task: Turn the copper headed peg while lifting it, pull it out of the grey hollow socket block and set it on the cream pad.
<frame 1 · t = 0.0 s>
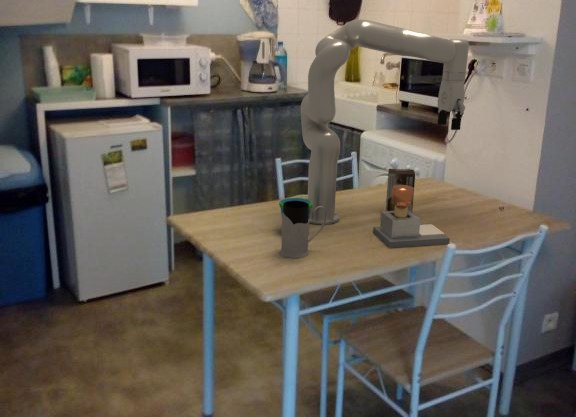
hand: (448, 127, 216), 31 cm above the table, fingers open, 9 cm apart
cream pad: (426, 231, 199), resting on charcoal board
snack cup: (294, 232, 201), on the table
grey hollow socket block: (399, 224, 196), on the charcoal board, point 5 cm above the table
coffee box: (398, 215, 221), on the table
charcoal board: (410, 238, 199), on the table
glass holder: (302, 252, 185), on the table
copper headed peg: (401, 210, 195), in the grey hollow socket block, point 10 cm above the table, touching charcoal board
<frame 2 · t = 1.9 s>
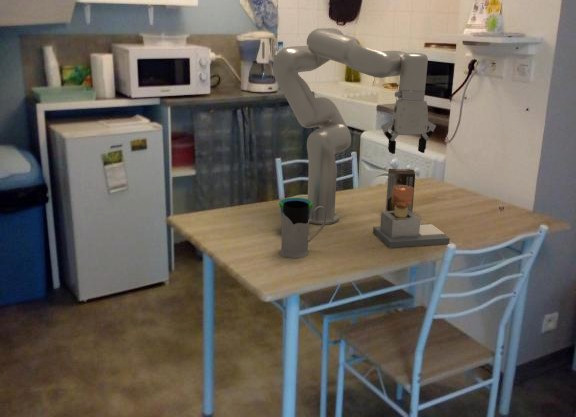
hand: (406, 152, 189), 28 cm above the table, fingers open, 9 cm apart
nothing on the table moved.
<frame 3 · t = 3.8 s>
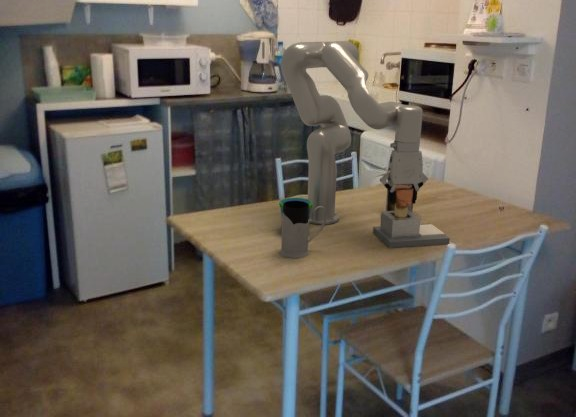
hand: (401, 202, 194), 12 cm above the table, fingers closed on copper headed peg, 6 cm apart
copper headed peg: (401, 210, 195), in the grey hollow socket block, point 10 cm above the table, touching charcoal board, gripper
everything else where it was.
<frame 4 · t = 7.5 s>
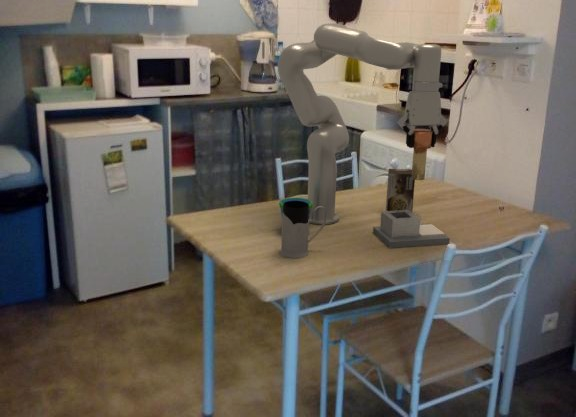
hand: (420, 146, 189), 30 cm above the table, fingers closed on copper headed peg, 6 cm apart
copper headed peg: (419, 154, 190), point 27 cm above the table, touching gripper
everything else where it was.
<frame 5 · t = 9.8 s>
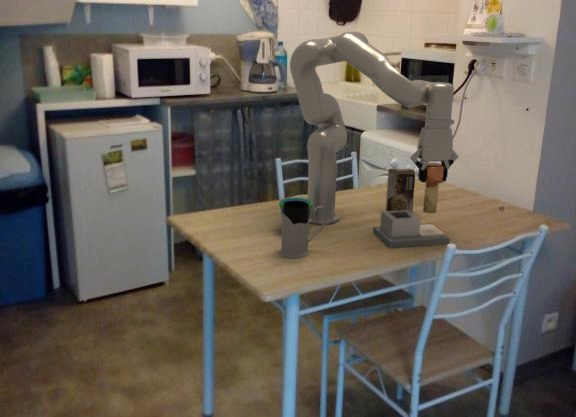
hand: (432, 180, 194), 19 cm above the table, fingers closed on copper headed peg, 6 cm apart
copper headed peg: (431, 188, 195), point 16 cm above the table, touching gripper
everything else where it was.
when the fingers open (14 cm above the table, at t = 11.4 s): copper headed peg stays where it is, resting on cream pad.
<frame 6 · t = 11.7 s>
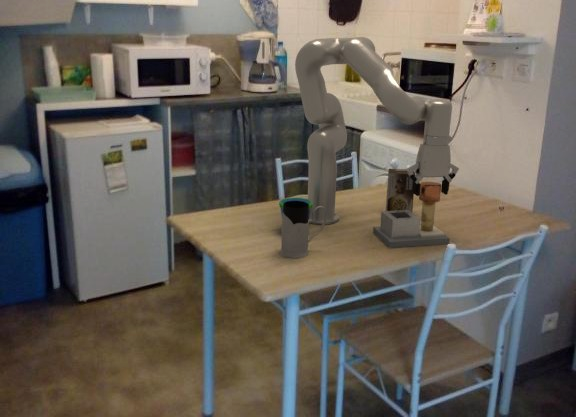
hand: (430, 194, 196), 14 cm above the table, fingers open, 9 cm apart
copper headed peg: (428, 207, 197), on the cream pad, point 10 cm above the table
everything else where it was.
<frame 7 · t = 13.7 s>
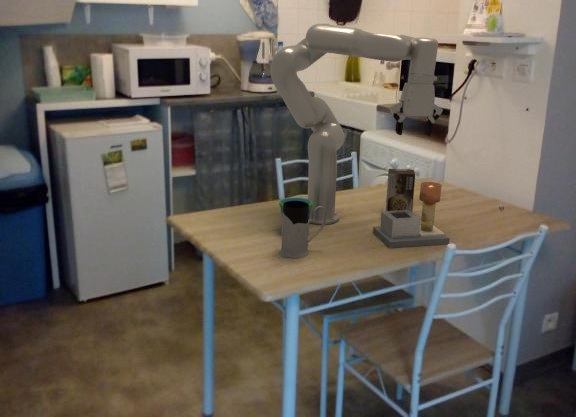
hand: (413, 134, 196), 32 cm above the table, fingers open, 9 cm apart
nothing on the table moved.
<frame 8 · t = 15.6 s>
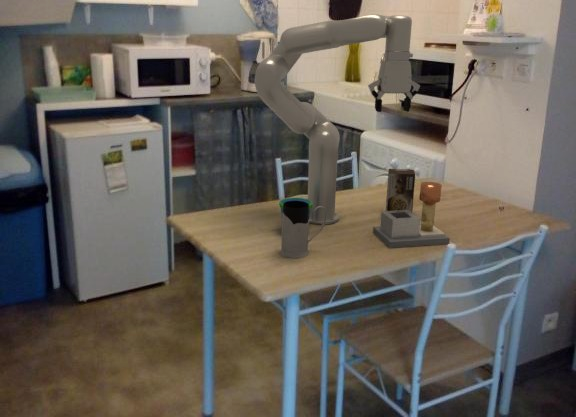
hand: (392, 111, 200), 38 cm above the table, fingers open, 9 cm apart
nothing on the table moved.
at the end: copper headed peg 0.0 cm off-centre on the cream pad, point 8.1 cm above the cream pad's base; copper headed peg tilted 0°; the gripper is holding nothing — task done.
